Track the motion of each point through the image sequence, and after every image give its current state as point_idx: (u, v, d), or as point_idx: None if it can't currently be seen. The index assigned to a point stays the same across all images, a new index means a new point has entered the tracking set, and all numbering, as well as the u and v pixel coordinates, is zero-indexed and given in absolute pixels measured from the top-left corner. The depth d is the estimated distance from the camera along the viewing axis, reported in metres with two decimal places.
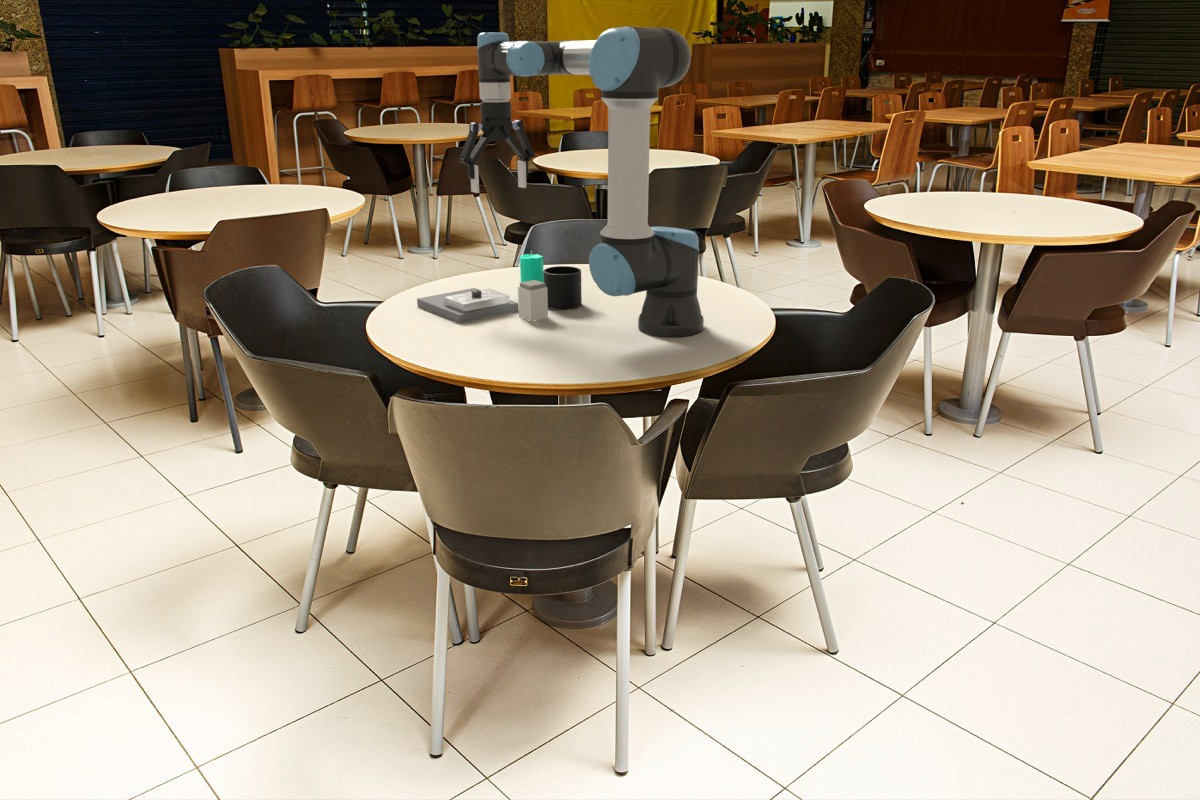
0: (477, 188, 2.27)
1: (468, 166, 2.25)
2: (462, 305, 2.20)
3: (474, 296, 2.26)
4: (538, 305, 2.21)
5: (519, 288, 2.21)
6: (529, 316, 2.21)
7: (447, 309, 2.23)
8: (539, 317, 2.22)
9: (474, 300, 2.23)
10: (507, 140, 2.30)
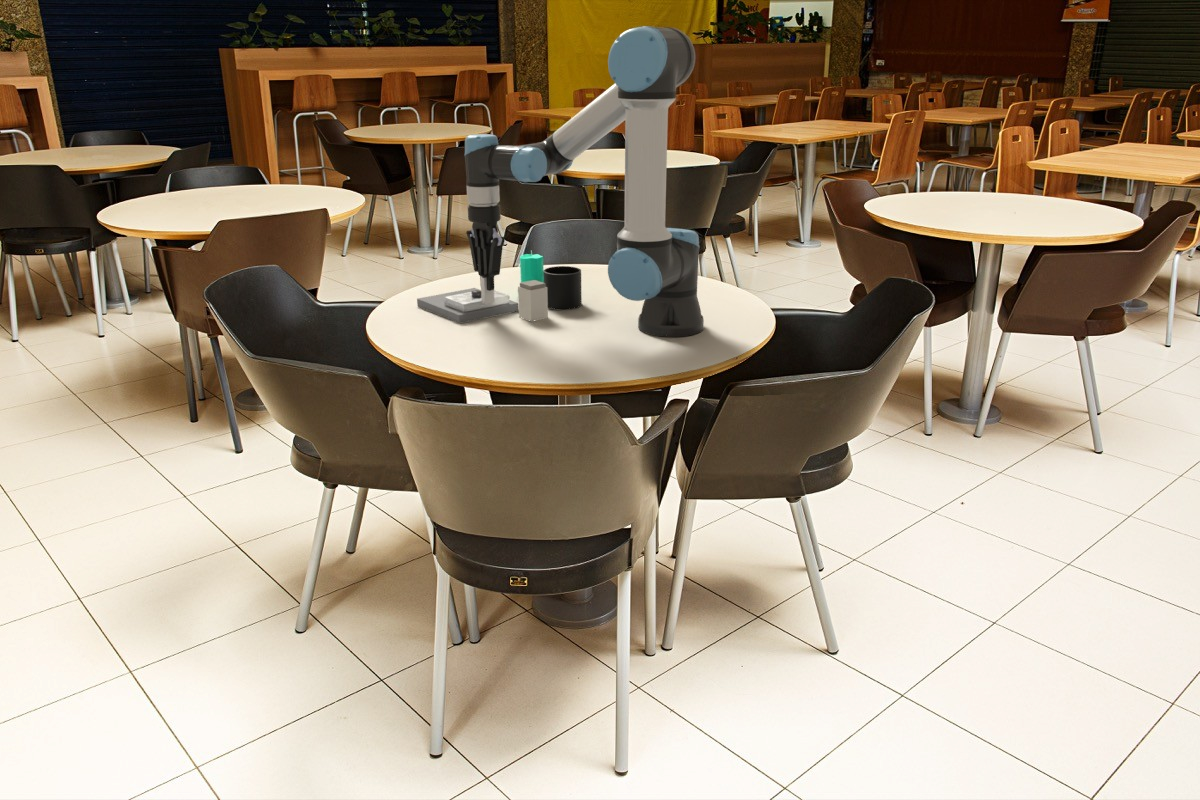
0: (482, 298, 2.22)
1: None
2: (462, 305, 2.20)
3: (474, 296, 2.26)
4: (538, 305, 2.21)
5: (519, 288, 2.21)
6: (529, 316, 2.21)
7: (447, 309, 2.23)
8: (539, 317, 2.22)
9: (474, 300, 2.23)
10: None
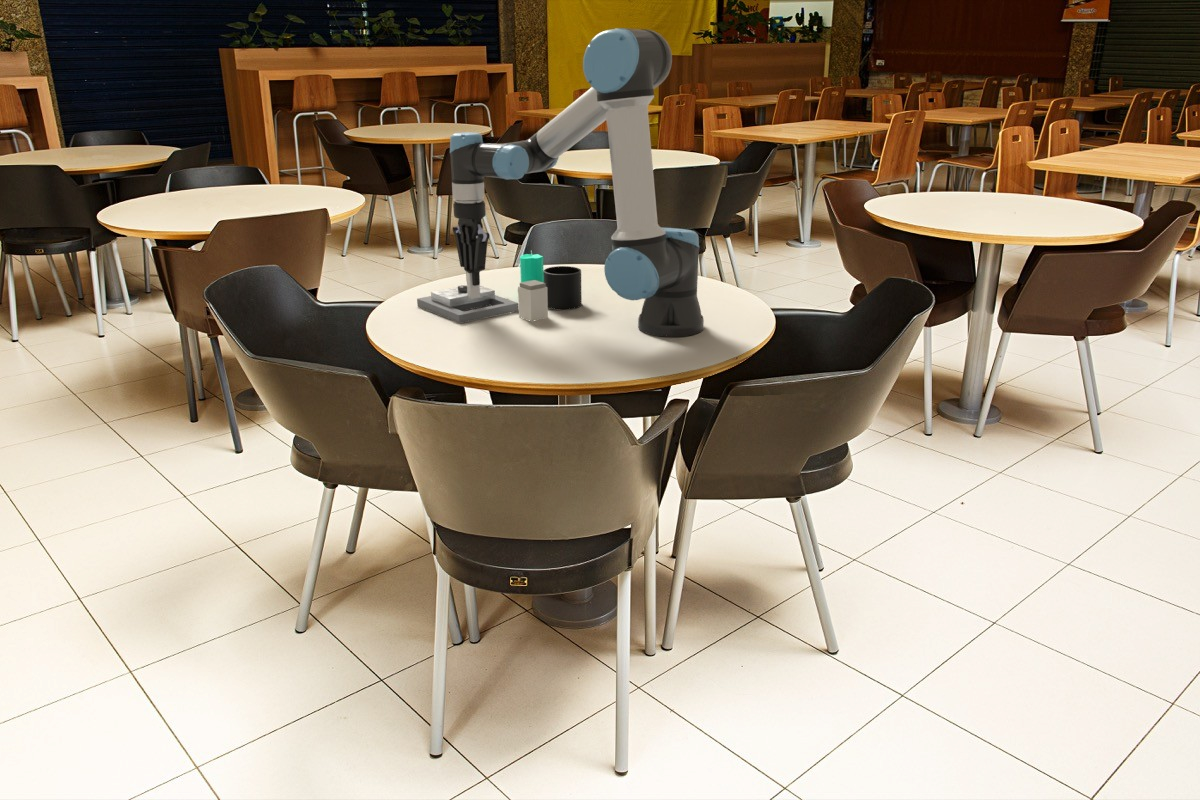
0: (468, 293, 2.27)
1: None
2: (448, 300, 2.25)
3: (460, 291, 2.30)
4: (538, 305, 2.21)
5: (519, 288, 2.21)
6: (529, 316, 2.21)
7: (447, 309, 2.23)
8: (539, 317, 2.22)
9: (460, 295, 2.27)
10: None
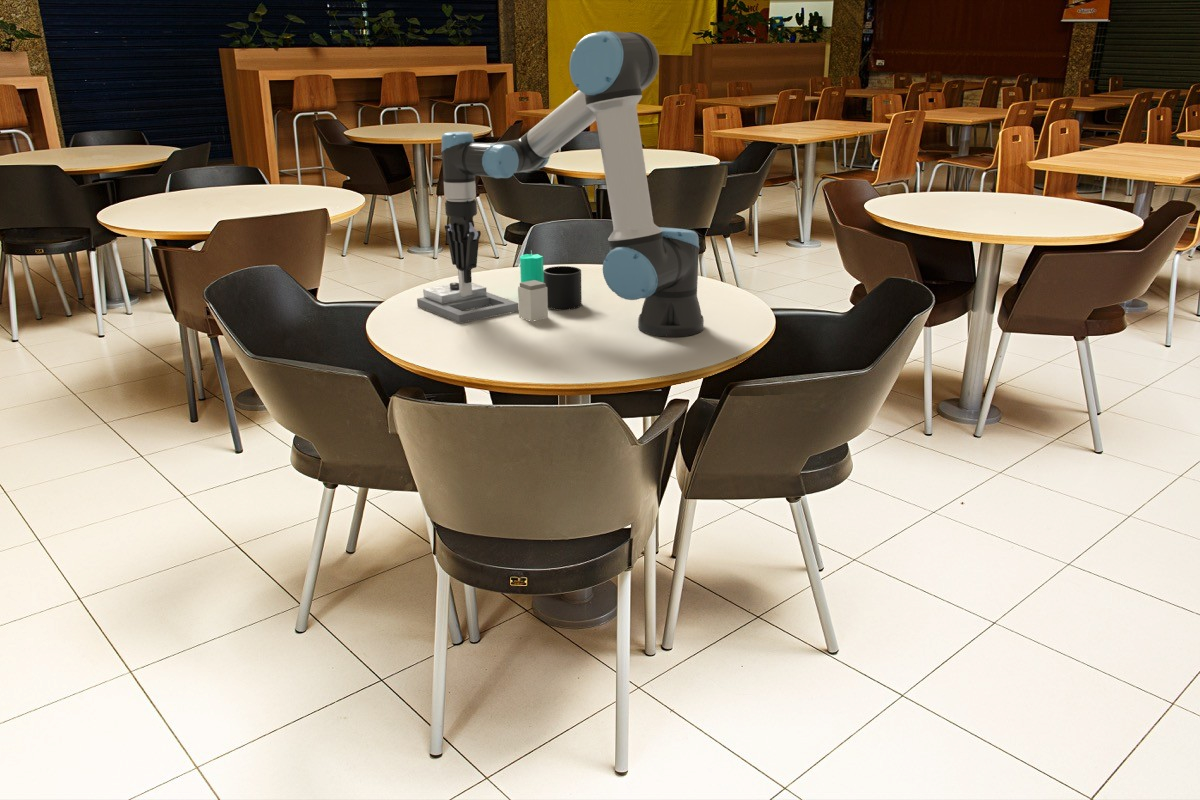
0: (460, 291, 2.30)
1: None
2: (440, 297, 2.28)
3: (452, 288, 2.33)
4: (538, 305, 2.21)
5: (519, 288, 2.21)
6: (529, 316, 2.21)
7: (447, 309, 2.23)
8: (539, 317, 2.22)
9: (452, 292, 2.30)
10: None
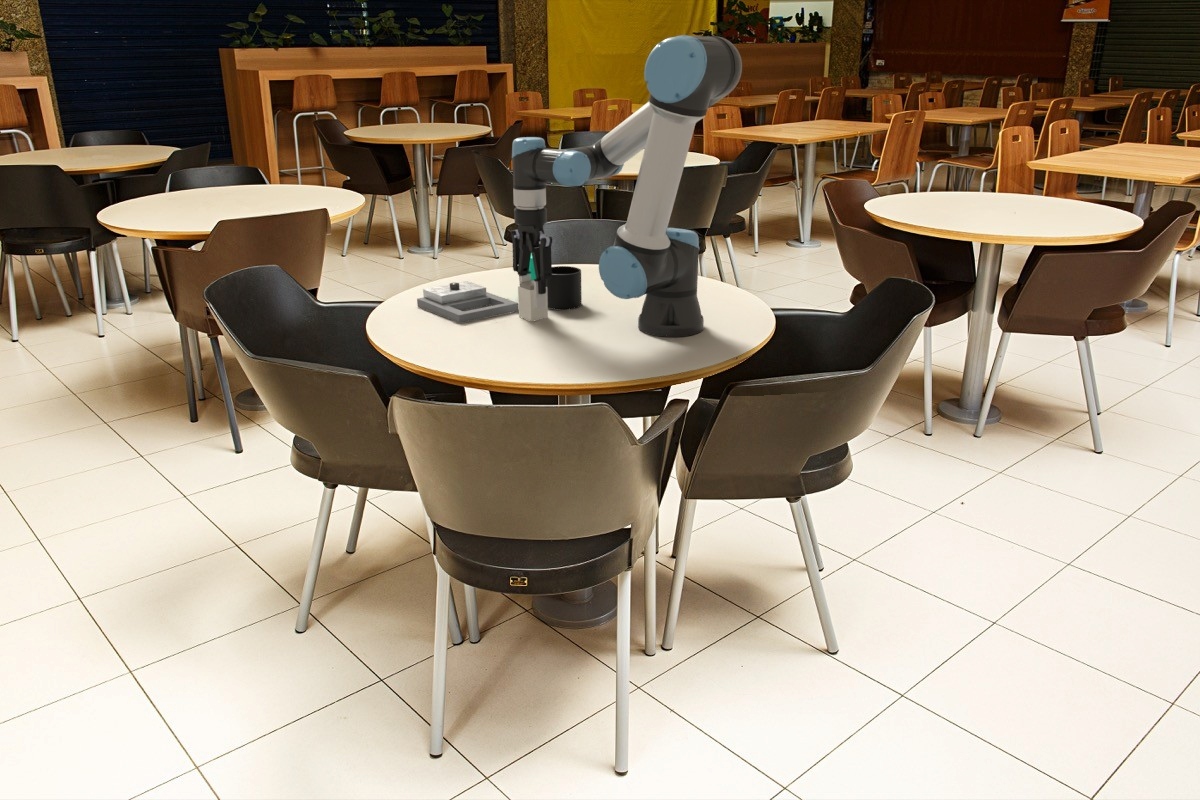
0: None
1: None
2: (440, 297, 2.28)
3: (452, 288, 2.33)
4: None
5: (519, 288, 2.21)
6: (529, 316, 2.21)
7: (447, 309, 2.23)
8: (539, 317, 2.22)
9: (451, 292, 2.30)
10: None
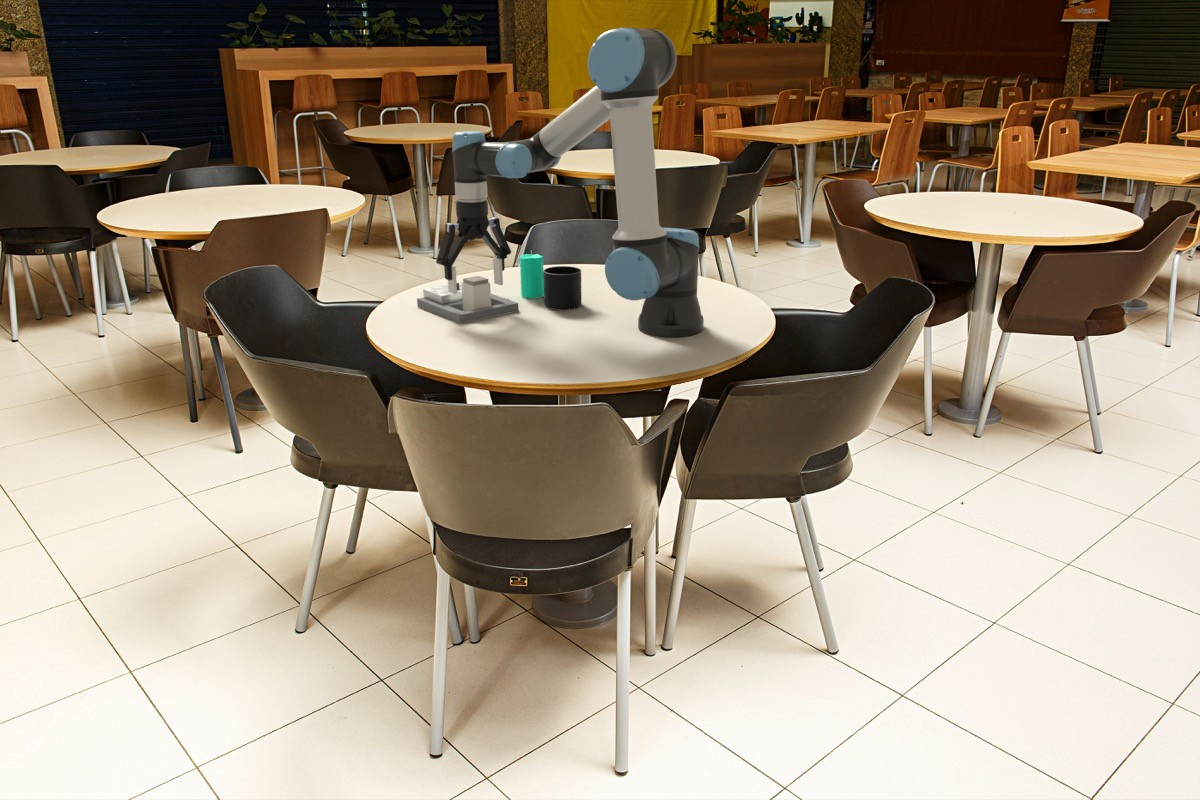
0: (455, 289, 2.21)
1: (445, 267, 2.19)
2: (440, 297, 2.28)
3: None
4: None
5: (474, 287, 2.23)
6: None
7: (447, 309, 2.23)
8: None
9: None
10: (483, 238, 2.24)
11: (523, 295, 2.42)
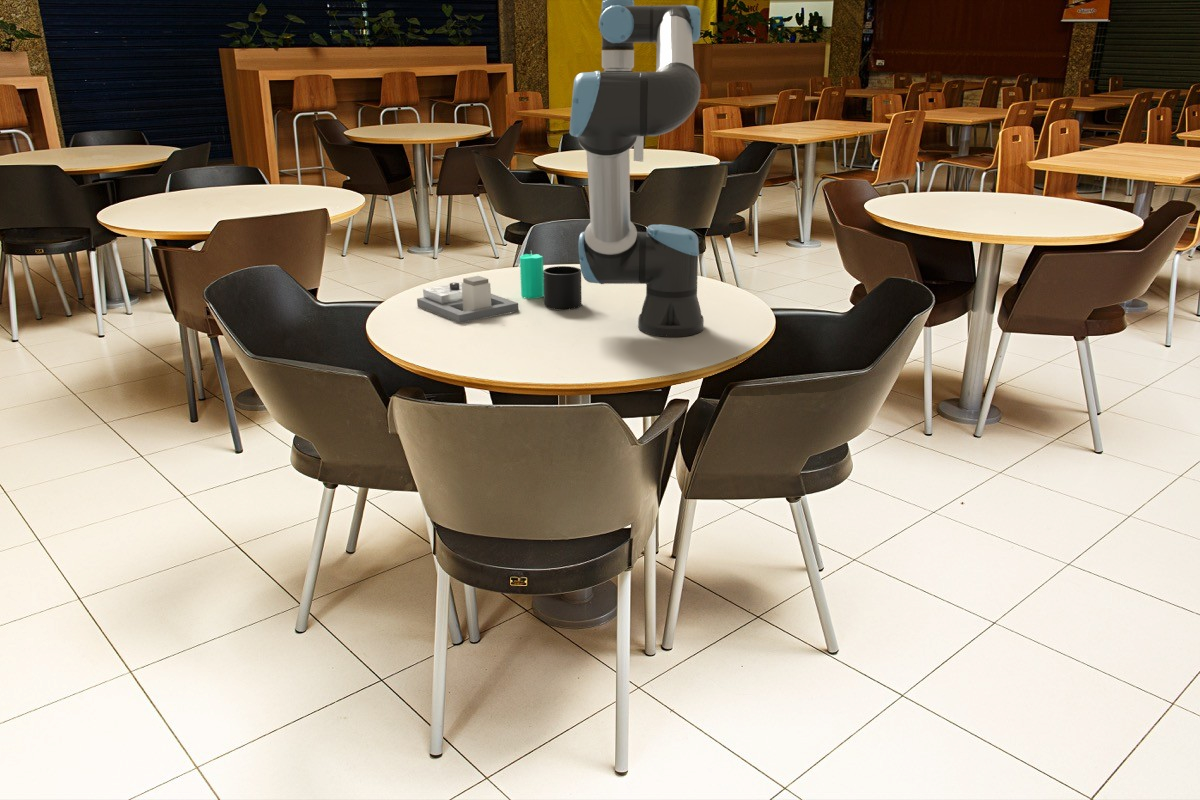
0: None
1: None
2: (440, 297, 2.28)
3: (452, 288, 2.33)
4: None
5: (474, 287, 2.23)
6: None
7: (447, 309, 2.23)
8: None
9: (451, 292, 2.30)
10: None
11: (523, 295, 2.42)
